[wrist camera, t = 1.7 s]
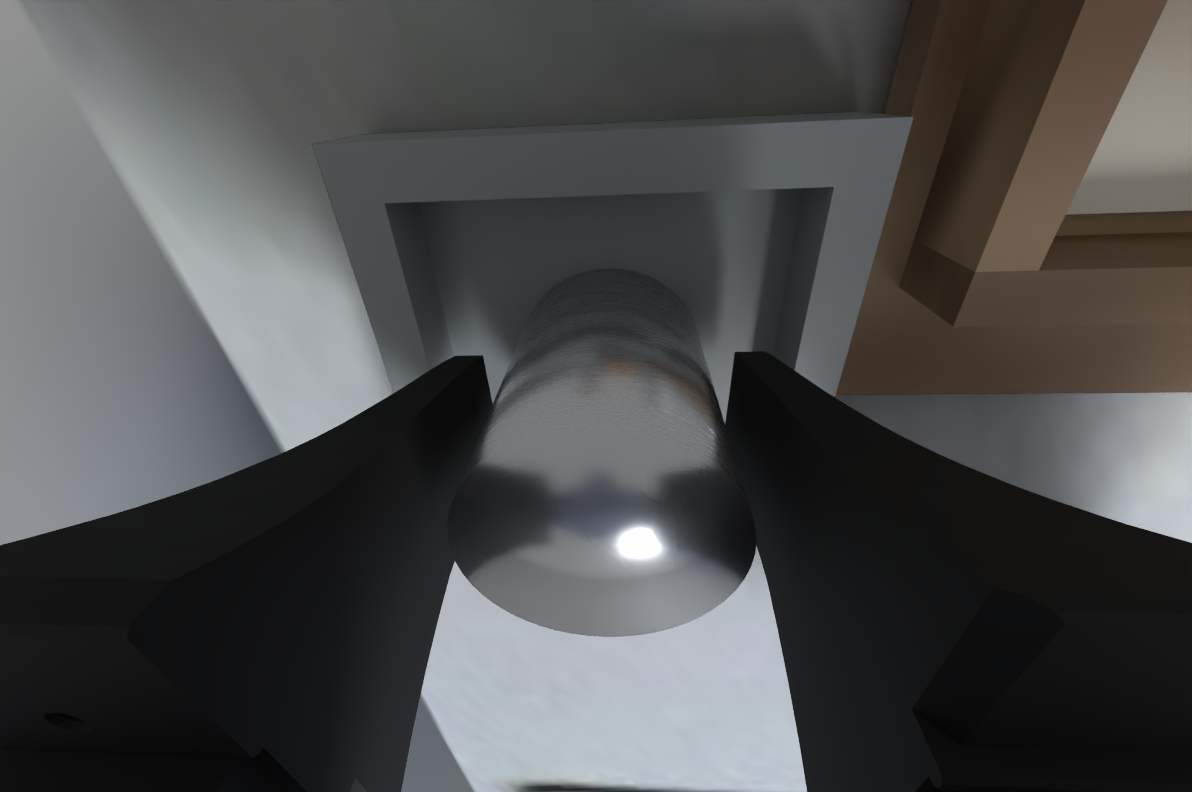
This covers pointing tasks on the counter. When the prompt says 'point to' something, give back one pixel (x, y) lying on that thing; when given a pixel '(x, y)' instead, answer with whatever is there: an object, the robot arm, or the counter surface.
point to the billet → (605, 469)
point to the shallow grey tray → (619, 230)
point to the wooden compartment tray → (1035, 204)
